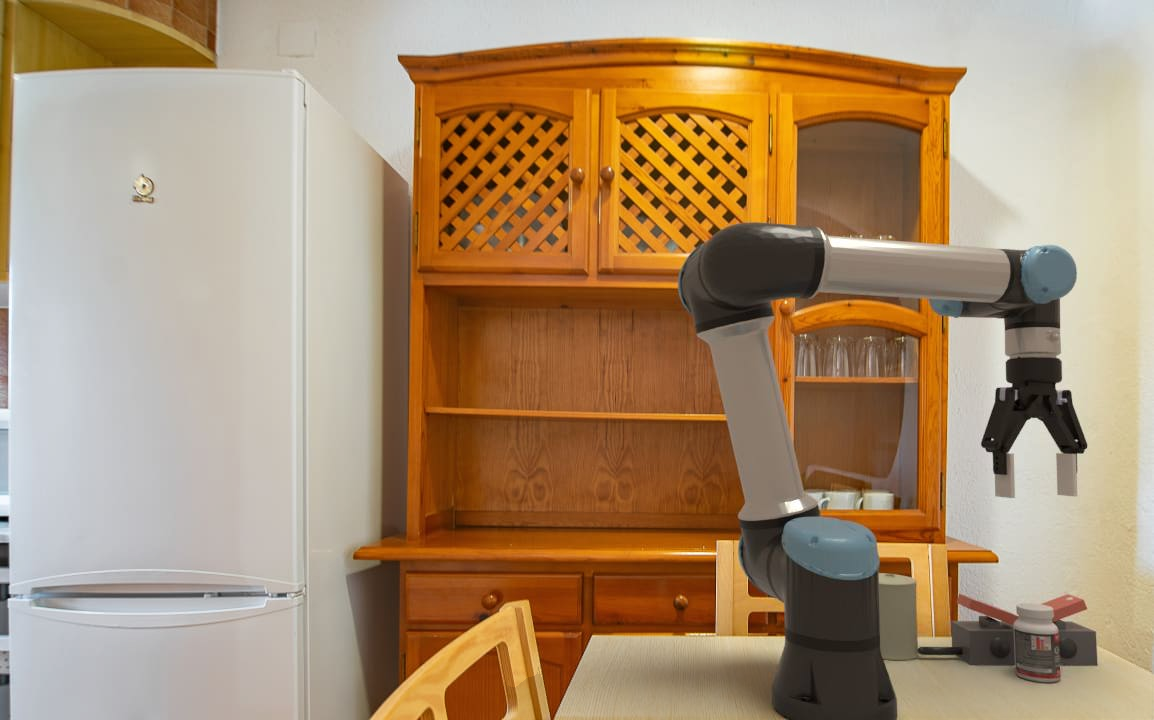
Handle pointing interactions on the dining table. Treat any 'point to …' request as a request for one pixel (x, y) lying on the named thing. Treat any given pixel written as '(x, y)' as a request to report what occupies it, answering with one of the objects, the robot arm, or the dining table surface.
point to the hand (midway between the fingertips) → (1036, 496)
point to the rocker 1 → (987, 609)
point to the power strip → (1012, 643)
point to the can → (898, 617)
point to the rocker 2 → (1066, 606)
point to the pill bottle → (1036, 643)
